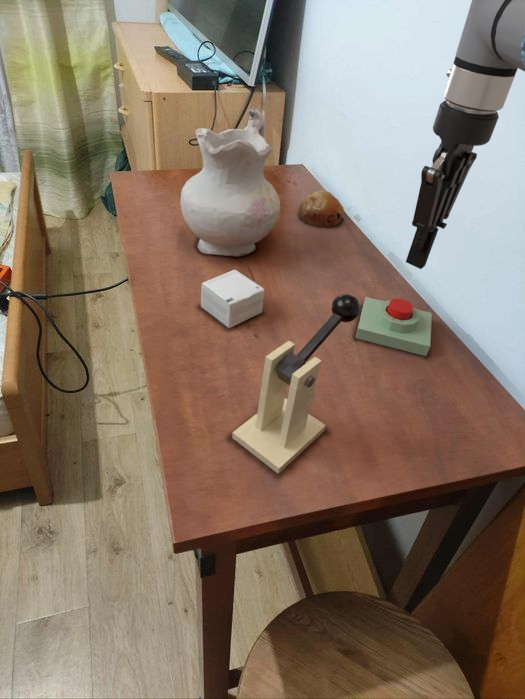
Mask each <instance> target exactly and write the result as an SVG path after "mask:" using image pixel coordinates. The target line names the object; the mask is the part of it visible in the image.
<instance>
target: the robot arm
mask: <svg viewBox="0 0 525 699" xmlns="http://www.w3.org/2000/svg"><path fill="white" fill-rule="evenodd" d="M461 32H462V33H461V35H460V39H459V42H458V46H457V49H456V52H455V56H454V60H453V63H452V66H451V68H449V69H448V70H447V71H446V77H447V78H448V79H447V82H446V85H445V87H444V88H445V89H444V92H443V98H444V101H442V102H441V103H440V104H439V106H438V110H437V113H436V116H435V119H434V122H433V126H432V131H433V133H434V134H435V135H436V136H437V137H439V139H440V143H439V145H438V148H436V149H435V152H434V154H433V157H432V165H431V166H427V165H424V166H423V168H422V170H421V173H420V174H421V177H420V178H421V179H420V180H421V181H420V186H419V191H418V195H417V199H416V204H415V209H414V212H413V213H414V214H413V218H412V221H411V224H412V227H414V228H416V230H415V233H414V236H413V239H412V242H411V245H410V248H409V251H408V253H407V256H406V258H405V259H406V260H405V263H407V264H408V265H411V266H413V267H415V268H417V269H419V270H422V269H423V268H425V267H426V265H427V262H428V259H429V256H430V253H431V251H432V248H433V245H434V243H435V240H436V237H437V235H438V231H439V228H440V229H442V230H445V228H446V227H447V225H448V224H447V223H446V222H444V220H448V218H449V217H450V214H451V211H452V209H453V207H454V205H455V203H456V200H457V198H458V195H459V193H460V191H461V189H462V187H463V185H464V183H465V180H466V178H467V176H468V175H469V172H470V169H471V168H472V166H473V165H474V162H475V161H476V160H477V157H478V153H476V152H473V150H474V147H479V146H480V147H481V146H484V145H486V144H488V143H489V142H490V140H491V138H492V136H493V133H494V131H495V129H496V126H497V123H498V120H499V118H500V116H499V113H498V111H501V110H502V109H503V108H504V106H505V103H506V100H507V98H508V95H509V93H510V90H511V87H512V84H513V82H514V80H515V77H516V74H517V71H518V69H519V70H521V71H523V72H525V0H471V2H470V6H469V9H468V13H467V16H466V18H465V22H464V26H463V29H462V31H461Z"/></svg>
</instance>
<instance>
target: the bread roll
mask: <svg viewBox="0 0 525 699" xmlns="http://www.w3.org/2000/svg"><path fill="white" fill-rule="evenodd" d="M298 214H299V217H300V218H301V220H302V221H304V222H305V223H307V224H308V225H311V226H316V227H320V228H332V227H335V226H337V225H338V224H340V222H343V221H344V220H345V218H344V217H343V215H345V214H346V211H345V208H344V206H343V205H342V203H341V202H340V201H339V199H337V198H336V197H335V196H334V194H332V193H331V192H330V191H327V190H316V191H313V192H312V193H309V194H308V195H306V196H305V197H304V198H303V199H302V201H301V203H300V204H299V207H298Z"/></svg>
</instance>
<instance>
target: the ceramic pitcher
mask: <svg viewBox="0 0 525 699" xmlns="http://www.w3.org/2000/svg"><path fill="white" fill-rule="evenodd" d="M248 115H249V119H248V121H247V126H245V127H244V128H228V129H226V130H223V131H221V132H220V133H216V132H215V131H213V130H212V129H210V128H208V127H200V128H199V127H197V126H196V127H195V128H196V130H195V131H194V133H195V137H196V140H197V143H198V146H199V151H200V153H201V156H202V165H203V166H202V169H201V170H200V171H199V172H198V173H196V174H194V175H192V176H191V177H190V178H189V179H188V180H186V182H185V184H184V185H183V187H182V189H181V193H180V199H179V200H180V201H179V204H180V209H181V214H182V217H183V219H184V221H185V223H186V225H187V227H188V228H189V229H190V231H191V232H192V233H193V234H194V235H195V236H196V237H197V238H198V239H199V240H198V243H197V248H198V250H199V252H200V253H203V254H205V255H217V256H227V257H243V256H247V255H249V254H250V253H253V252H255V251H256V243H258V242H260V241H261V240H263V239H264V238H265V237H267V235H269V233H270V232H271V231H272V230H273V228H274V226H275V224H276V223H277V220H278V218H279V215H280V211H281V199H280V196H279V194H278V192H277V190H276V189H275V187H274V186H273V184H272V183H271V182H269V181H268V180H267V179H266V178H265V175H264V168H265V165H266V162H267V159H268V158H269V156H270V154H271V152H272V145H270V144H269V143H268V141H267V140H266V138H265V134H266V125H265V119H264V116H263V115H262V109H260V108H257V106H255V107H252V108H250V110H249V111H248Z"/></svg>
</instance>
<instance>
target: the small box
mask: <svg viewBox="0 0 525 699" xmlns="http://www.w3.org/2000/svg"><path fill="white" fill-rule="evenodd" d="M200 285H201V290H200V291H201V292H200V308H202V309H203V310H204V311H206V312H207V313H208V314H210V315H211V316H212V317H214V319H216V320H217V321H219V322H220V323H221V324H223V325H224V326H225V327H226V328H228V329H231V328H233V327H235V326H236V325H239V324H241V323H243V322H245V321H247V320H249V319H252V318H253V317H255V316H257V315H259V314H262V313H263V305H264V299H265V291H266V290H265V289H264V288H263V287H262V286H261V285H259V284H258V283H256V282H254V281H253V280H252V279H250V278H248V277H247V276H245V274H242V273H241V272H239V271H238V270H236V269H233V270H230V271H228V272H226V273H223V274H220V275H219V276H215V277H213V278H211V279H208V280H206V281H203V282H201V284H200Z"/></svg>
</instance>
